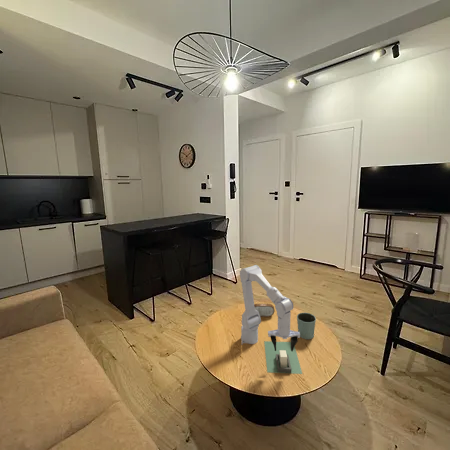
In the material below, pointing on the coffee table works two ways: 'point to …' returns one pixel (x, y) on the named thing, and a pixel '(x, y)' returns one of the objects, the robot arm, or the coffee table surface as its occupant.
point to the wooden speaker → (264, 309)
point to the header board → (273, 358)
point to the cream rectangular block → (283, 358)
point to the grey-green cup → (306, 325)
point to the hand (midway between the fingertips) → (283, 349)
